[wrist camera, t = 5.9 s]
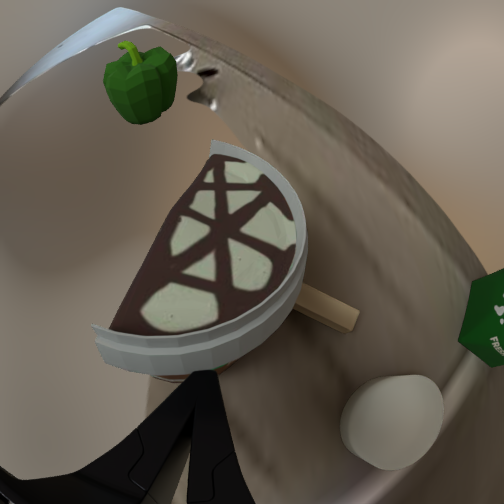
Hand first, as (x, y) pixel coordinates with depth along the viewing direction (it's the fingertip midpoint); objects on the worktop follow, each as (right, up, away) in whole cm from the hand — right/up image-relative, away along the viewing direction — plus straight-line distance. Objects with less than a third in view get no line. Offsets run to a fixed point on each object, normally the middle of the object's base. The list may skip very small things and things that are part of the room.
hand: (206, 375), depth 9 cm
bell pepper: (-11, +21, +20) cm, 31 cm away
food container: (0, -1, +9) cm, 9 cm away
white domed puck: (+11, -9, +8) cm, 16 cm away
